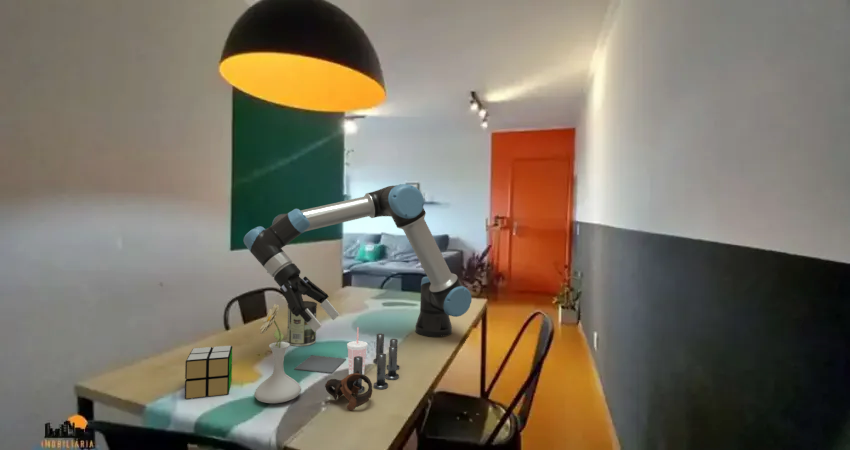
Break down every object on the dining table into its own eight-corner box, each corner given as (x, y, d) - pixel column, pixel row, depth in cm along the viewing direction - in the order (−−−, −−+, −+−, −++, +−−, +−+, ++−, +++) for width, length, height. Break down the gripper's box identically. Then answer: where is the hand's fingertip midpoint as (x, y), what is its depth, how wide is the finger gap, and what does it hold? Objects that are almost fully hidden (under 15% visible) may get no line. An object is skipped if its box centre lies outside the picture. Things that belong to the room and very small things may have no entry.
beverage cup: (370, 372, 126) (372, 326, 126) (359, 379, 121) (360, 331, 120) (353, 368, 129) (355, 323, 128) (341, 375, 123) (343, 328, 123)
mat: (311, 356, 138) (311, 355, 138) (346, 359, 136) (346, 358, 136) (294, 369, 126) (294, 368, 126) (331, 373, 124) (331, 372, 124)
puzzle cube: (191, 384, 113) (192, 347, 113) (231, 380, 117) (232, 345, 117) (184, 400, 104) (185, 360, 104) (228, 395, 108) (229, 357, 107)
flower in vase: (262, 388, 112) (264, 296, 111) (305, 388, 113) (307, 297, 112) (244, 411, 99) (247, 307, 98) (293, 411, 100) (296, 308, 99)
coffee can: (314, 336, 159) (315, 300, 158) (317, 345, 149) (318, 306, 149) (285, 338, 155) (286, 301, 154) (287, 347, 145) (288, 307, 145)
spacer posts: (375, 359, 137) (376, 332, 137) (407, 362, 135) (408, 335, 135) (347, 392, 111) (348, 359, 111) (387, 397, 110) (388, 363, 109)
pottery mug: (367, 393, 113) (376, 373, 109) (364, 424, 104) (373, 403, 101) (324, 384, 110) (331, 362, 107) (317, 415, 102) (324, 393, 98)
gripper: (294, 272, 140) (335, 320, 138) (251, 285, 116) (300, 343, 114) (309, 257, 139) (350, 305, 137) (269, 267, 115) (319, 325, 113)
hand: (327, 322), depth 125 cm, fingers open, 13 cm apart
